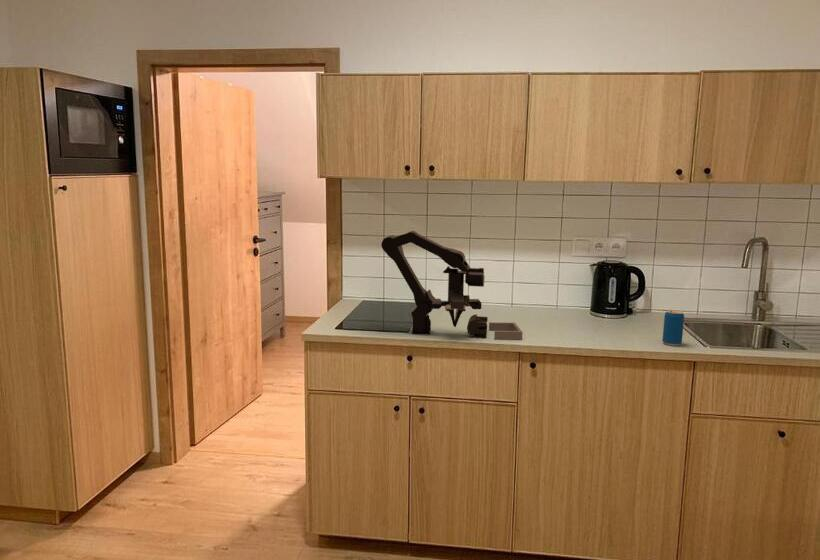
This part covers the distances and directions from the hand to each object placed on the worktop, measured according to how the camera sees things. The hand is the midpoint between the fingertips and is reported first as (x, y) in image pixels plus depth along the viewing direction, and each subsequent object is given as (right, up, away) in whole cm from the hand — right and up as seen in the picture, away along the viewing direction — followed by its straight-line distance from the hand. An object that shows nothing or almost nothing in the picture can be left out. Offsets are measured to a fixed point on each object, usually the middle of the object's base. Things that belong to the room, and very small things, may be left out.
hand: (454, 326), depth 237 cm
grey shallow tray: (+18, -3, +1) cm, 19 cm away
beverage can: (+78, -6, -8) cm, 78 cm away
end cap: (+8, -3, +1) cm, 9 cm away
